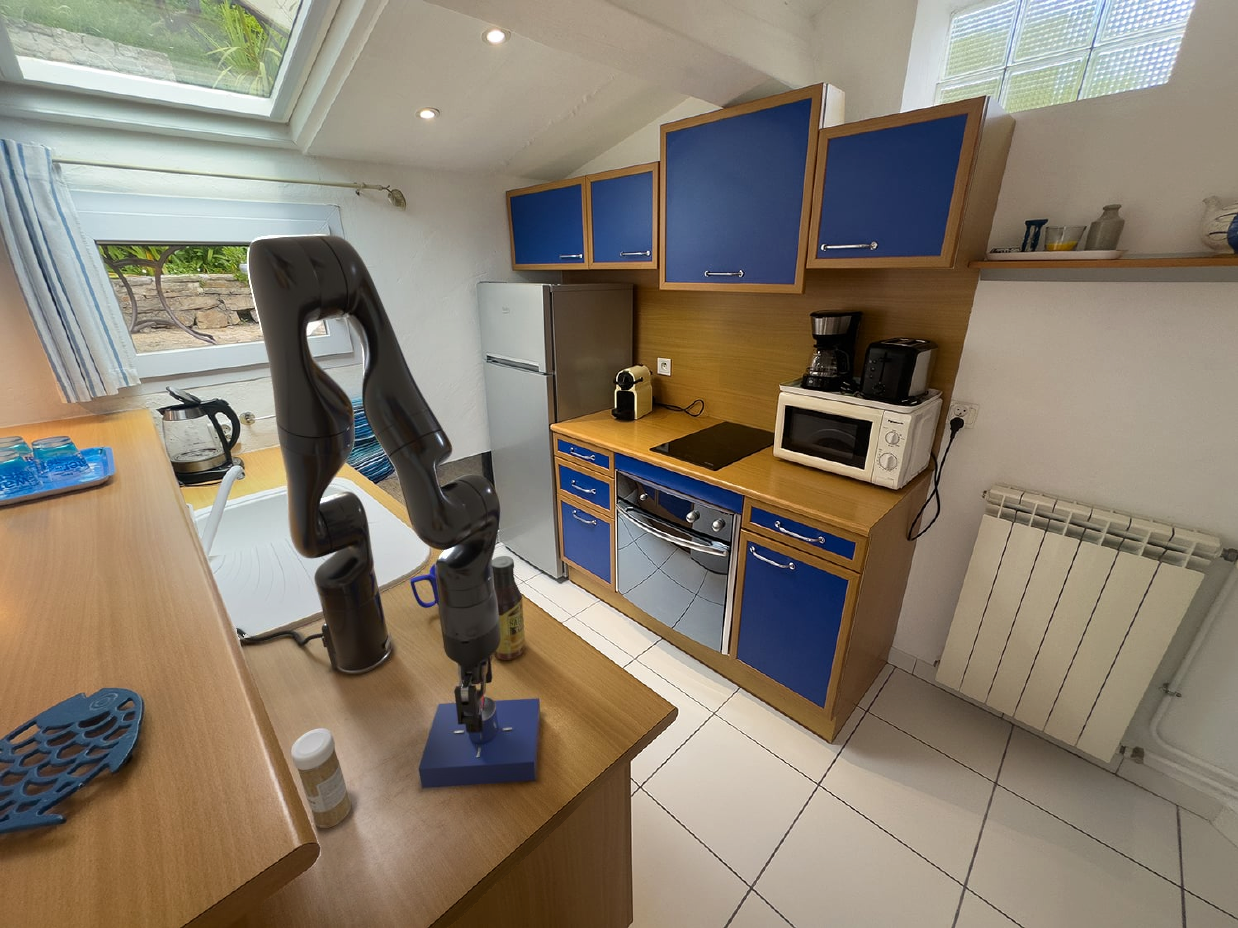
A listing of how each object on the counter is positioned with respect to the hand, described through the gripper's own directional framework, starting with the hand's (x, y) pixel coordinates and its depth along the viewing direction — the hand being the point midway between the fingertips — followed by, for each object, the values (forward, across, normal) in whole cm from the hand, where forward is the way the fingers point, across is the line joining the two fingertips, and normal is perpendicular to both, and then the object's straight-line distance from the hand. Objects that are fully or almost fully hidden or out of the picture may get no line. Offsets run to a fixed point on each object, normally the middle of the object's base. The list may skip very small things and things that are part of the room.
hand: (480, 704), depth 73 cm
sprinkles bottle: (+9, +8, -19) cm, 23 cm away
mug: (+10, -34, -14) cm, 38 cm away
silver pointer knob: (+5, 0, 0) cm, 5 cm away
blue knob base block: (+9, 0, 0) cm, 9 cm away
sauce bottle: (+9, -20, +1) cm, 23 cm away
